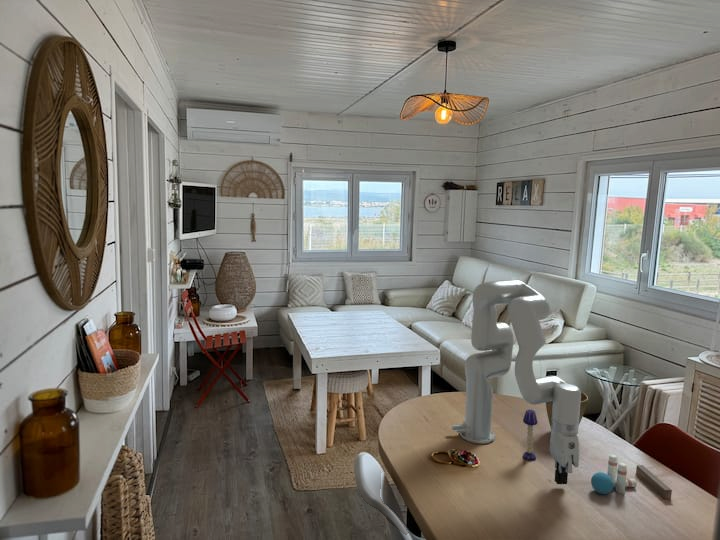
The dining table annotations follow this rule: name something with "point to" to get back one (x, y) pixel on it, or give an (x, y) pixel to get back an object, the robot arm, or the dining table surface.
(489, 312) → the robot arm
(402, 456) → the dining table surface
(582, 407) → the plant pot
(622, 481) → the pin
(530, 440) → the toy lamp
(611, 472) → the pin
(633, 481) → the front pin
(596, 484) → the ball
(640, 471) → the back rail
